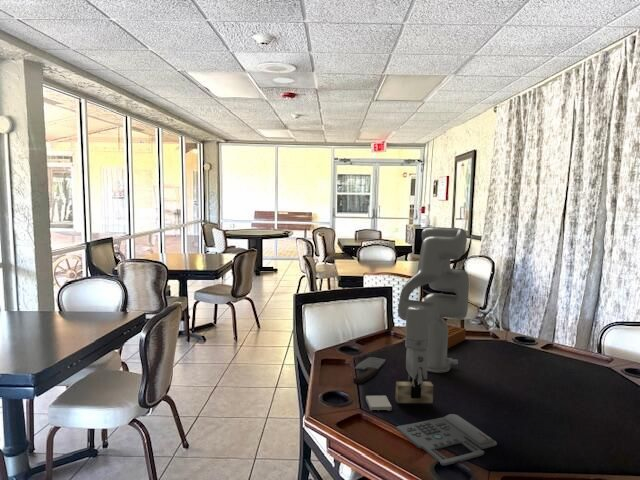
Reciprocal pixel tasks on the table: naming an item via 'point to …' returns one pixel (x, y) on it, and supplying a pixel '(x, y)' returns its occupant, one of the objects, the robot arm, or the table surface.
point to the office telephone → (447, 437)
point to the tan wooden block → (405, 393)
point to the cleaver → (368, 368)
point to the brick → (455, 335)
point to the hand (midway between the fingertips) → (414, 394)
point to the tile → (378, 403)
